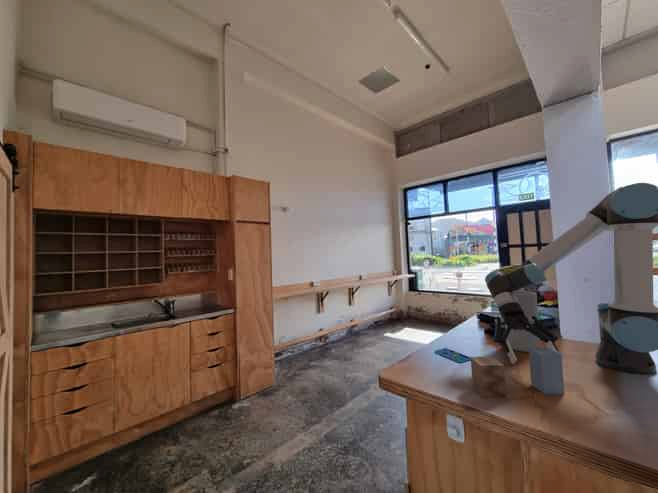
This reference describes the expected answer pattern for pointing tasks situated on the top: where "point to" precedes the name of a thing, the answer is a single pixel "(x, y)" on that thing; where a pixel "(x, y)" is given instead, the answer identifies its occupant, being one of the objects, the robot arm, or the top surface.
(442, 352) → the handheld gaming device
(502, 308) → the robot arm
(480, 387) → the tower base
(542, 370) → the blue block
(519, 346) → the grey cylinder
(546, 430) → the top surface
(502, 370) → the tower top
